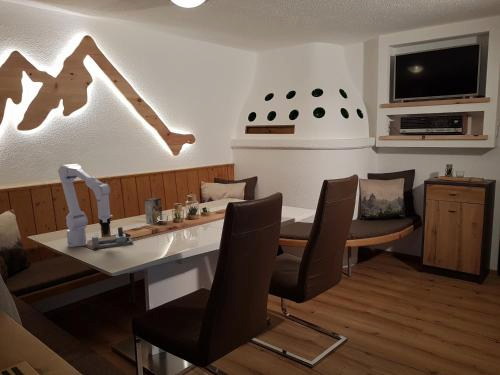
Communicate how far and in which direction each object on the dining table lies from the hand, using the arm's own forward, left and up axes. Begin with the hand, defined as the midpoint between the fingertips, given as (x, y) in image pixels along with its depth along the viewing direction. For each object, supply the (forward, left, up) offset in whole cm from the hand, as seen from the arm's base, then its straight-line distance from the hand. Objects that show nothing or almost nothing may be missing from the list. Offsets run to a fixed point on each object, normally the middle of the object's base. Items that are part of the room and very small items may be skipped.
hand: (105, 233), depth 201 cm
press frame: (+3, +8, -8) cm, 12 cm away
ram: (+7, +8, -8) cm, 14 cm away
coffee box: (+31, +51, -9) cm, 60 cm away
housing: (0, 0, -1) cm, 1 cm away
